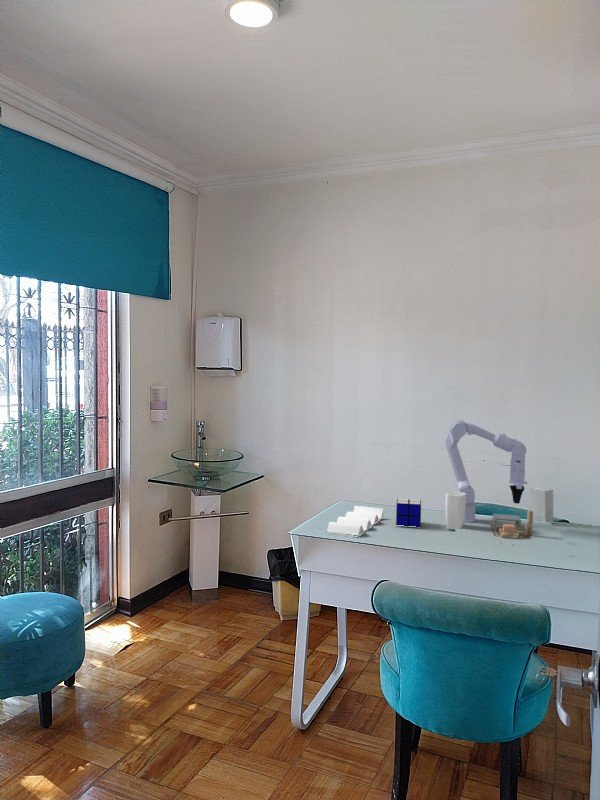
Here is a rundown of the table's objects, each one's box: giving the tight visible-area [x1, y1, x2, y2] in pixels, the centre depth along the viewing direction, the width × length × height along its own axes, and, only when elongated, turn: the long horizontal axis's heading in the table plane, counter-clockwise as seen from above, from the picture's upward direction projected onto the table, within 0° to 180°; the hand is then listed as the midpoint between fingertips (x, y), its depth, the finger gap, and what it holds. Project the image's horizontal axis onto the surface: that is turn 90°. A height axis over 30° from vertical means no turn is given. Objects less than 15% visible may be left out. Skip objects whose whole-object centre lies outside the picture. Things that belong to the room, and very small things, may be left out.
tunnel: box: [491, 513, 522, 532], centre depth 252 cm, size 10×8×5 cm
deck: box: [489, 523, 532, 540], centre depth 251 cm, size 14×20×2 cm
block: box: [502, 523, 515, 533], centre depth 243 cm, size 4×4×4 cm
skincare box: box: [529, 486, 554, 524], centre depth 271 cm, size 8×6×15 cm
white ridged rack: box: [326, 505, 384, 537], centre depth 260 cm, size 13×35×5 cm, turn 156°
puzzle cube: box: [395, 498, 422, 528], centre depth 264 cm, size 10×10×10 cm
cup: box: [445, 491, 466, 531], centre depth 257 cm, size 7×7×15 cm
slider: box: [499, 510, 534, 539], centre depth 242 cm, size 12×8×9 cm, turn 78°
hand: (516, 503), depth 261 cm, fingers closed
